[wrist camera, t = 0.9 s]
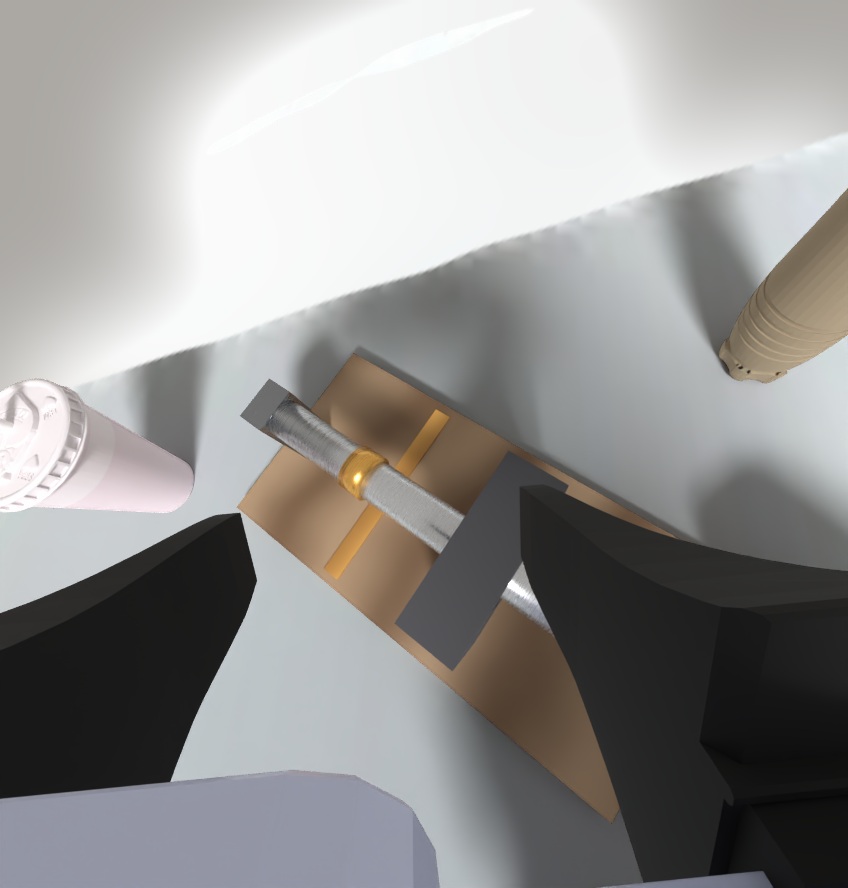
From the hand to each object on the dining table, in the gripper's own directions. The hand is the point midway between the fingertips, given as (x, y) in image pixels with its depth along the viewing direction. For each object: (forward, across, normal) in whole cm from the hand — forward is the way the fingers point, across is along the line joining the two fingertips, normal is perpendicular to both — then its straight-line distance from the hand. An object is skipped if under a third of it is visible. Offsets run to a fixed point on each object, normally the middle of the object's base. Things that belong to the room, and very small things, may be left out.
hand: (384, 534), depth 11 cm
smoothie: (+17, +16, +5) cm, 24 cm away
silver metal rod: (+11, -3, +7) cm, 13 cm away
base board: (+11, -3, +7) cm, 13 cm away
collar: (+8, -4, +7) cm, 12 cm away
